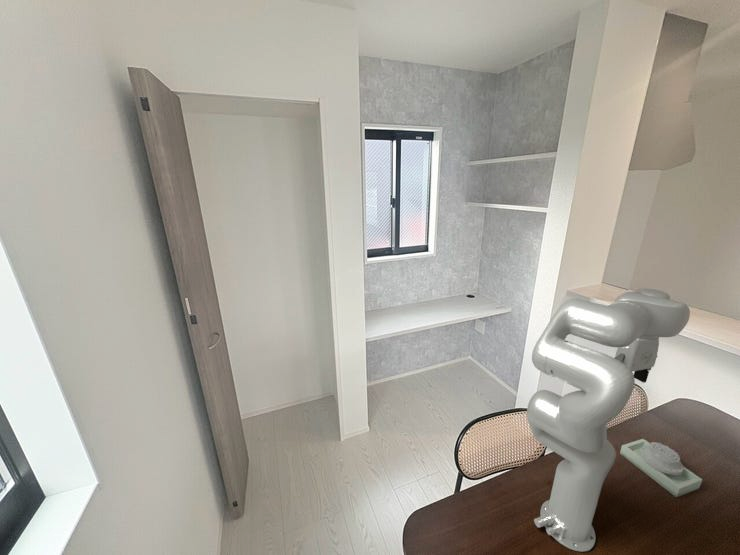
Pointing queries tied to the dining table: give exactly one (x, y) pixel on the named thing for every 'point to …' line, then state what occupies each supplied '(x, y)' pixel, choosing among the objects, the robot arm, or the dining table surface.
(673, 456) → the mechanical component
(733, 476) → the dining table surface
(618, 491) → the dining table surface
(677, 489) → the tray
